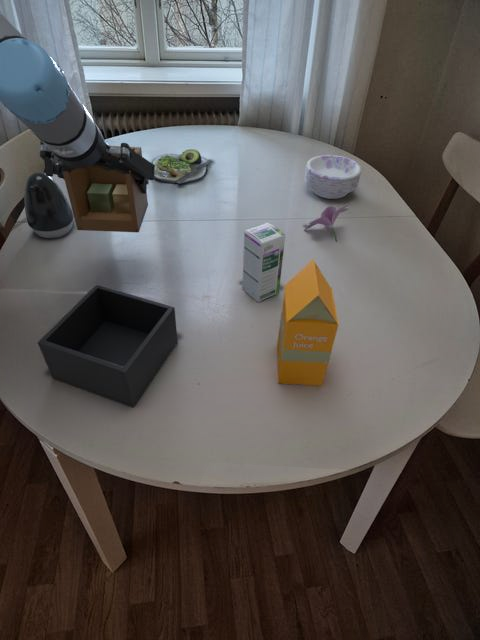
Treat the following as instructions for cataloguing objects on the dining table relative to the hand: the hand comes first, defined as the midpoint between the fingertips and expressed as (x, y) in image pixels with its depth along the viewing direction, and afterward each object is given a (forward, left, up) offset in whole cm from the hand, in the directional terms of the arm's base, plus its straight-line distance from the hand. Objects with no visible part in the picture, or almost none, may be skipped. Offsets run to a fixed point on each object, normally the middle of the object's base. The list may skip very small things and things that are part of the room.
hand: (112, 185), depth 83 cm
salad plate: (-10, +48, -19) cm, 53 cm away
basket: (+14, -25, -19) cm, 34 cm away
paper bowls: (+35, +54, -19) cm, 67 cm away
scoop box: (+1, -3, -5) cm, 6 cm away
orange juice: (+44, -14, -19) cm, 49 cm away
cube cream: (+2, 0, -4) cm, 5 cm away
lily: (+39, +31, -19) cm, 53 cm away
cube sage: (-2, -1, -4) cm, 5 cm away
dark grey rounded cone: (-22, +4, -19) cm, 30 cm away
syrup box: (+31, +3, -19) cm, 36 cm away
